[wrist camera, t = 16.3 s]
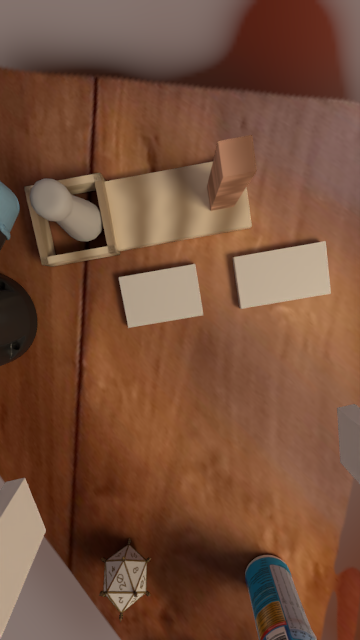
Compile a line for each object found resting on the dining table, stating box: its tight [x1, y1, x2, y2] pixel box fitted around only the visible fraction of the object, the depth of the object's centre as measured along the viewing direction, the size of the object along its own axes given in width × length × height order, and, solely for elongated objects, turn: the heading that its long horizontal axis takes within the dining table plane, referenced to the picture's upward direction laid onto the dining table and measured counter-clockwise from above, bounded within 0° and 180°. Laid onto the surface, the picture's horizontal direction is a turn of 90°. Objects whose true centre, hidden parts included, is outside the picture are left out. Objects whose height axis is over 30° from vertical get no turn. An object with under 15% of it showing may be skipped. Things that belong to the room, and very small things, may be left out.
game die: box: [99, 538, 151, 622], centre depth 44 cm, size 9×8×10 cm
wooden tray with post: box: [24, 135, 257, 266], centre depth 34 cm, size 32×11×13 cm, turn 100°
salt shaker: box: [29, 178, 103, 241], centre depth 34 cm, size 6×6×13 cm
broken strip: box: [119, 241, 331, 328], centre depth 41 cm, size 32×8×1 cm, turn 100°
